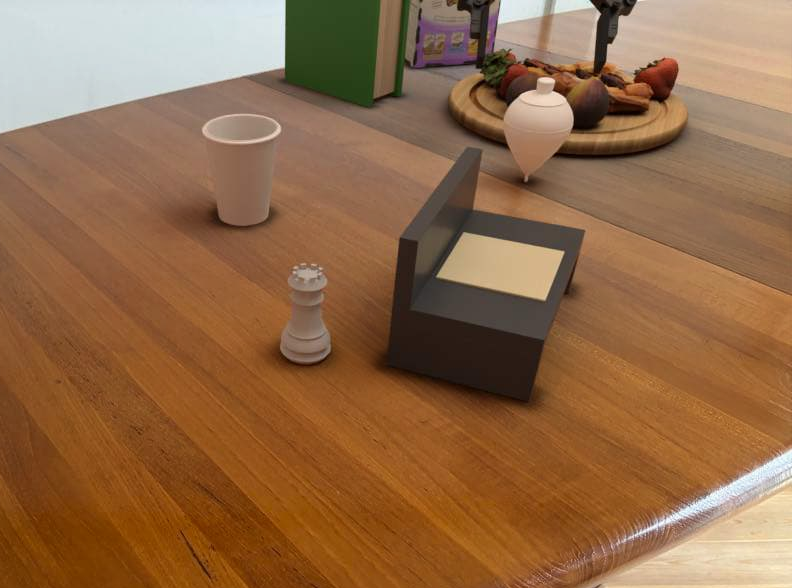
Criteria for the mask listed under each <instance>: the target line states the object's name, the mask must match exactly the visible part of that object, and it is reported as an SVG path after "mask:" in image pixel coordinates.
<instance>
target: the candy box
mask: <svg viewBox="0 0 792 588" xmlns="http://www.w3.org/2000/svg"><path fill="white" fill-rule="evenodd" d="M457 2H458V0H410V10H409V20H408V31H407V41H406V52H405V63H407V64H408V65H409V66H410V67H411V68H412V69H420V68H421V69H422V68H430V67H431V68H433V67H444V66H445V67H446V66H456V65H468V64H476V58H477V47H478V39H470V36H469V33H470V22H471V17H470V15H471V14H470V13H469V12H468V11H465V10H464V11H459V10H458V9H457ZM501 3H502V0H495V1H494V2H493V3H492V4H491V5H490V9H489V20H488V31H487V42H486V52H485V55H486V54H487V53H489V52H490V53H492V52H495V44H496V38H497V30H498V24H499V18H500V10H501ZM484 61H485V59H484Z"/></svg>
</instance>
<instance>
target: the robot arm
mask: <svg viewBox="0 0 792 588" xmlns="http://www.w3.org/2000/svg"><path fill="white" fill-rule="evenodd" d="M494 1H495V0H458V2H457V9H458V10H459V11H464V10H465V11H468V12H469V13H470V14H471V15H470V17H471V22H470V33H469V36H470V39H478V47H477V58H476V63H475V70H481V69H482V67H483V63H484V59H485V52H486V42H487V31H488V20H489V9H490V5H491V4H492V3H493V2H494ZM589 2H590V3H591V4H592V5H593V7H594V8H595V9H596V10H597V11H598V13H600V15H599V17H598V19H597V21H596V32H595V42H594V43H595V45H594V57H593V61H594V68H593V73H597V74H600V72H601V70H602V69H603V67H604V65H605V63H606V62H607V58H608V47H609V45H613V43H614V41H615V39H616V37H617V35H618V31H619V18H620V17H622V16H623V17H628V16H630V15H631V13H632V11H633V10H634V8H635V6H636V4H637V3H638V0H589Z"/></svg>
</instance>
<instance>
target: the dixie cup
mask: <svg viewBox="0 0 792 588" xmlns="http://www.w3.org/2000/svg"><path fill="white" fill-rule="evenodd" d="M281 132H282V127H281V125H280V124H279V123H278V122H277V121H276V120H275V119H273V118H271V117H268V116H265V115H261V114H254V113H233V114H226V115H221V116H217V117H214V118H212V119H210V120H208V121H207V122H206V123H204V125H203V126H202V128H201V134H202V135H203V137H204V139H205V146H206V150H207V157H208V162H209V168H210V172H211V180H212V185H213V190H214V197H215V202H216V209H217V213H218V218H219V220H220V221H222V222H223V223H224V224H225V223H226V224H228V225H231V226H237V227H239V226H240V227H247V226H248V227H249V226H254V225H258V224H260V223H263V222H264V221H266V219H268V217H269V212H270V205H271V197H272V189H273V180H274V174H275V165H276V158H277V157H276V156H277V149H278V140H279V136H280V134H281Z"/></svg>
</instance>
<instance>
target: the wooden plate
mask: <svg viewBox="0 0 792 588" xmlns="http://www.w3.org/2000/svg"><path fill="white" fill-rule="evenodd" d="M512 50H513V48H508V50H506V49H504V48H501V49H500V50H496V51H494V52H492V53H490V52H489V53H487V54H486V55H485V61H484V63H483V67H482V69H480V71H479V72H477V73H474V74H471V75H469V76H467V77H465V78H463V79H461V80H460V81H458V82H457V83H456V84H454V86H453V87H452V88H451V90H450V92H449V94H448V101H447V102H448V105H447V106H448V109H449V111H450V113H451V115H452V116H453V118H454V119H455V120H456V121H457V122H458V123H460V125H462V126H464V127H465V128H466V129H468V130H470V131H472V132H474V133H476V134H478V135H480V136H482V137H485V138H487V139H490V140H493V141H496V142H499V143H502V144H506V145H508V143H507V140H506V137H505V133H504V128H503V122H504V116H505V113H506V111H507V109H508V107H509V106H510V105H511V104H512V102H513V101H514V100H516V99H517V98H518V97H519V96H520V95H521V94H522V93H525V92H528V91H531V90H537V80H538V79H539V78H542V77H548V78H552V79H554V80H555V84H554V88H553V91H554V92H556V93H559V94H560V95H562V96H564V97H565V98H566V100H567V102H568V104H569V105H570V107H571V109H572V112H573V118H574V120H573V127H572V130H571V132H570V134H569V136H568V138H567V139H566V140H565V142H564V143H563V144H562V146H561V147H560V148H559V149H558V150H557V152H555V153H554V154H570V155H587V156H588V155H589V156H590V155H591V156H595V155H597V156H598V155H599V156H600V155H601V156H602V155H603V156H604V155H618V154H619V155H620V154H629V153H637V152H642V151H646V150H650V149H653V148H656V147H659V146H662V145H664V144H667V143H669V142H671V141H672V140H675V139H676V138H677V137H678V136H680V135H681V134H682V133H683V132H684V130H685V129H686V127H687V125H688V122H689V111H688V108H687V106H686V104H685V103H684V102H683V101H682V99H681V98H679V96H677V95H675V94H674V93H672V91H673V89H674V87H675V84H676V81H677V78H678V76H679V75H678V74H679V71H680V68H679V63H678V62H677V61H678V60H676V59H675V58H672V57H665V56H664V57H663V58H661V59H655V60H653V62H652V63H651V62H648V64H646V67H640V66H638V68H639V69H634V72H633V73H632V75H634V76H633V77H632V76H630V75H626V74H625V73H624V72H623V71H621V69H618V67H617V66H616V65H615V64H614V63H611V62H608V61H606V63H605V65H604V67H603V69H602V70H601V72H600V74H597V73H593V68H594V60H590V61H577V62H575V63H574V64H564V63H561V64H560V63H559V64H550V63H546V62H543V61H541V60H538V59H536V58H528V57H526V58H525V59H524V60H519V61H517V58H516V55H515V54H514V53H512V52H511V51H512ZM522 62H523V63H522Z"/></svg>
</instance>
